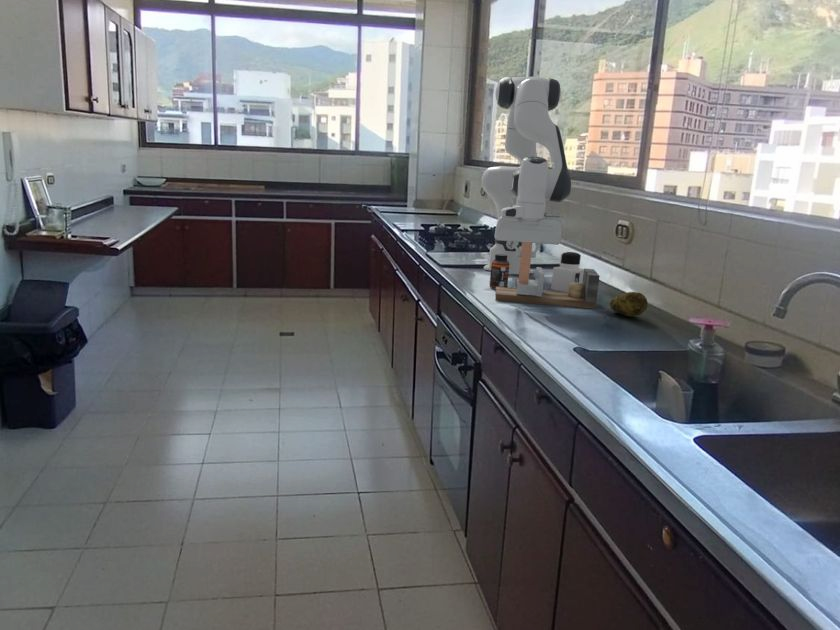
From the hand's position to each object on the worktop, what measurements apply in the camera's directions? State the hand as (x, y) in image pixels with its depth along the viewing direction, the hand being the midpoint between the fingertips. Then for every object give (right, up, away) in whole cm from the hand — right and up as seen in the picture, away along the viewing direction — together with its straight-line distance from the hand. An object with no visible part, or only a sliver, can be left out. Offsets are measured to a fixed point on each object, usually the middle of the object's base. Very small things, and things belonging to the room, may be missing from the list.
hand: (525, 257), depth 207 cm
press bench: (+6, -13, +2) cm, 15 cm away
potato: (+27, -19, -13) cm, 35 cm away
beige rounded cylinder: (+16, -12, +1) cm, 20 cm away
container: (+17, -10, +20) cm, 28 cm away
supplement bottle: (-6, -9, +17) cm, 21 cm away
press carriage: (+1, -11, +2) cm, 11 cm away
